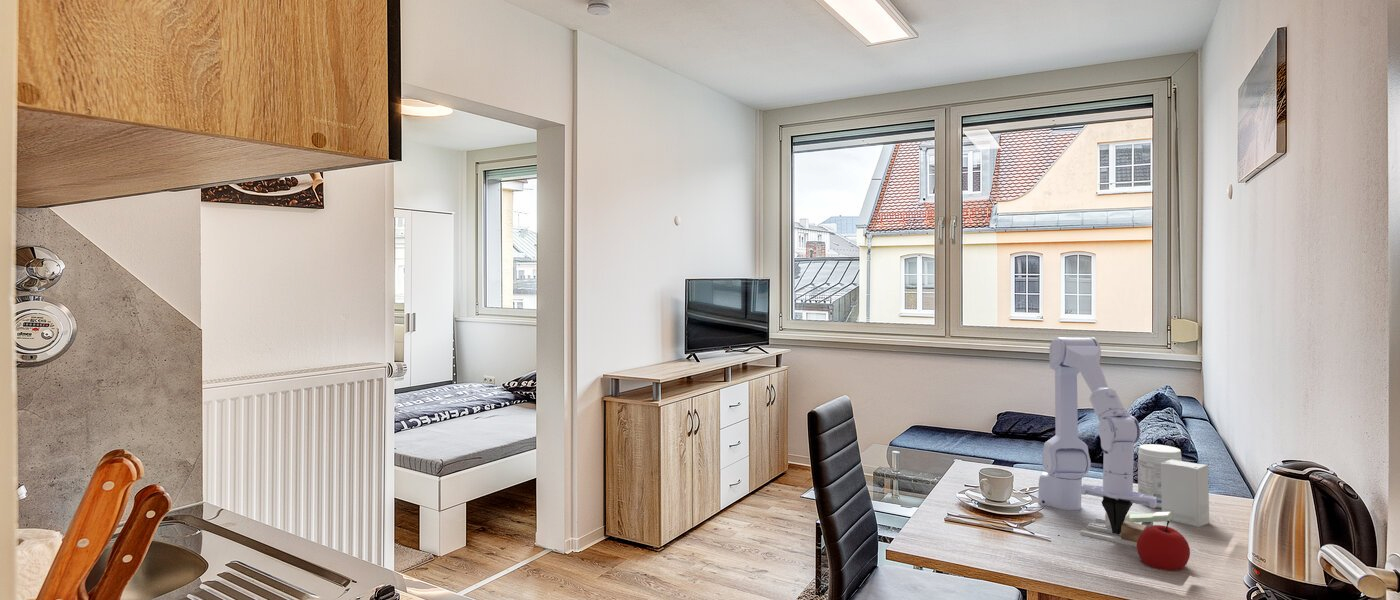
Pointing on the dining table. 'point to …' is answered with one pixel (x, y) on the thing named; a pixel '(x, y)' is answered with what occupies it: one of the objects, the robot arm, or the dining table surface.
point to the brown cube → (1132, 531)
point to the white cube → (1107, 522)
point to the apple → (1163, 548)
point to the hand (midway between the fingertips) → (1116, 532)
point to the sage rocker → (1151, 517)
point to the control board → (1108, 530)
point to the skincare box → (1185, 492)
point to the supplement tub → (1153, 468)
